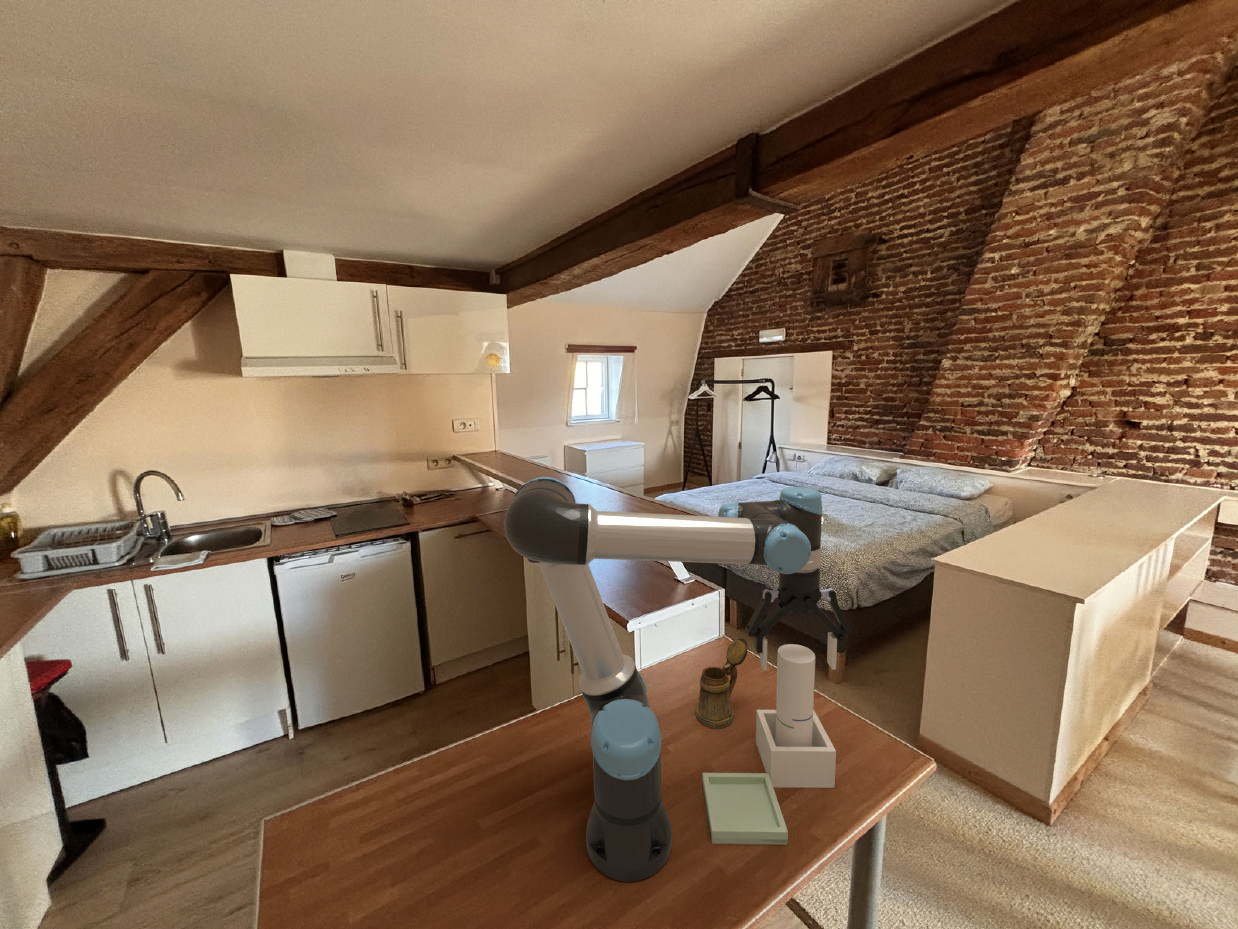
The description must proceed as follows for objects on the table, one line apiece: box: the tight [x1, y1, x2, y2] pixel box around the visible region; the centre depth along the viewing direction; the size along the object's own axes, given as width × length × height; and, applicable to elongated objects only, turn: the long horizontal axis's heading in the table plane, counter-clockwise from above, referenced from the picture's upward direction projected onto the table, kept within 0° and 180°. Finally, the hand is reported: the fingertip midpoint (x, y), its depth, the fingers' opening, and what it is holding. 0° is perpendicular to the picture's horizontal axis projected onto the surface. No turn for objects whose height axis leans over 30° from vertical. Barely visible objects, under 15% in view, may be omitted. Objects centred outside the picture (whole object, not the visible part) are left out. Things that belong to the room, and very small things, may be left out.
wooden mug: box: [695, 637, 748, 730], centre depth 118 cm, size 9×14×18 cm, turn 114°
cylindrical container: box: [775, 643, 816, 747], centre depth 101 cm, size 7×7×25 cm
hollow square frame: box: [755, 709, 837, 789], centre depth 102 cm, size 12×12×8 cm
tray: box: [702, 772, 789, 846], centre depth 92 cm, size 13×13×2 cm
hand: (797, 666), depth 99 cm, fingers open, 13 cm apart
